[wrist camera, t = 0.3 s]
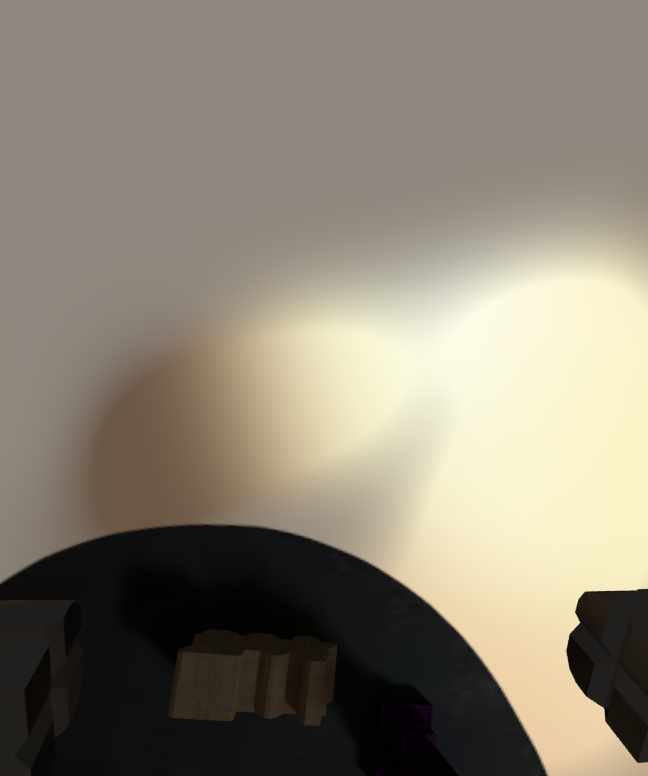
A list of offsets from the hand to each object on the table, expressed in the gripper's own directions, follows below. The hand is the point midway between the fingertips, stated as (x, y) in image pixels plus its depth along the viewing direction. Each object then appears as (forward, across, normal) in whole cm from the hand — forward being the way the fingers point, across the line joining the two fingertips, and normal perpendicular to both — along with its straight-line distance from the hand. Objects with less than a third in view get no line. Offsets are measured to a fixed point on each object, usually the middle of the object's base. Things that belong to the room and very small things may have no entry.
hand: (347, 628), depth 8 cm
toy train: (+40, +1, -39) cm, 56 cm away
